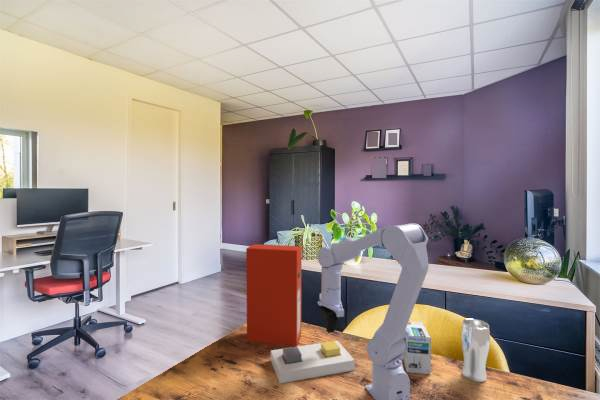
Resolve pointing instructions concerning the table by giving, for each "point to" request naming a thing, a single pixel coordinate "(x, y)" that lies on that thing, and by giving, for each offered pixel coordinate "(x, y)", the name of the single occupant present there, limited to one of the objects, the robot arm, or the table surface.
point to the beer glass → (475, 349)
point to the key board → (311, 363)
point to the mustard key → (330, 349)
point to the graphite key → (291, 355)
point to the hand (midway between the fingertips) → (330, 331)
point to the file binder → (274, 294)
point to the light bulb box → (418, 349)
